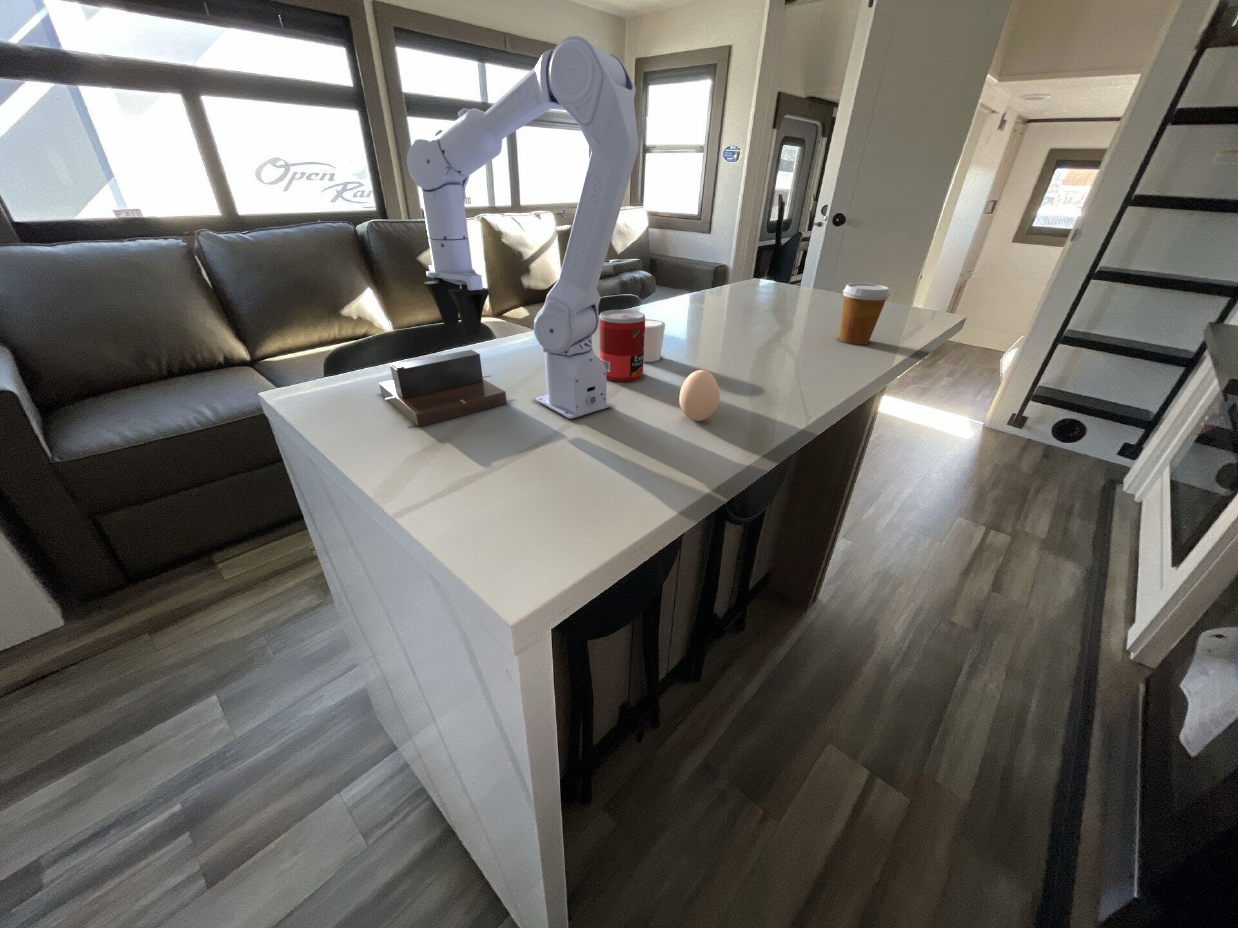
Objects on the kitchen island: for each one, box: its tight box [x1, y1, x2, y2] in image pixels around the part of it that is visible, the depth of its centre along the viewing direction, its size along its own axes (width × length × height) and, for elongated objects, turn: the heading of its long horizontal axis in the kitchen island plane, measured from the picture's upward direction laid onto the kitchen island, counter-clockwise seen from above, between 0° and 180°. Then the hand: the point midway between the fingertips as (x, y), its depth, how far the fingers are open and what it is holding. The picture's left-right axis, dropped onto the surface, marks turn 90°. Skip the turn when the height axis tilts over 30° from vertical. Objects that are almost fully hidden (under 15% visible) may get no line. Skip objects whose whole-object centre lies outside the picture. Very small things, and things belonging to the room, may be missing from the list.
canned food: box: [599, 309, 646, 383], centre depth 87 cm, size 8×8×11 cm
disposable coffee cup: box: [838, 282, 890, 345], centre depth 110 cm, size 10×10×12 cm
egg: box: [678, 369, 721, 422], centre depth 71 cm, size 6×6×8 cm
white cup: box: [643, 318, 666, 363], centre depth 98 cm, size 7×7×7 cm
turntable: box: [378, 374, 508, 428], centre depth 78 cm, size 17×17×2 cm
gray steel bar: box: [389, 349, 484, 399], centre depth 76 cm, size 13×3×5 cm, turn 130°
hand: (461, 330), depth 80 cm, fingers open, 7 cm apart
